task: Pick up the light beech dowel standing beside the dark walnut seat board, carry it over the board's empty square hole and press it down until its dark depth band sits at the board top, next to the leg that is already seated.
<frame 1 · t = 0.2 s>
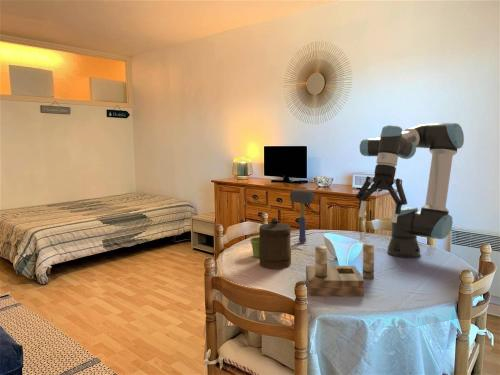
hand: (376, 220, 143), 27 cm above the table, tool tilted 15°, fingers open, 13 cm apart
wooden container: (275, 264, 176), on the table
beech peg: (368, 277, 156), on the table
plant pot: (259, 256, 188), on the table
seat board: (333, 287, 146), on the table
rubber mallet: (302, 242, 210), on the table
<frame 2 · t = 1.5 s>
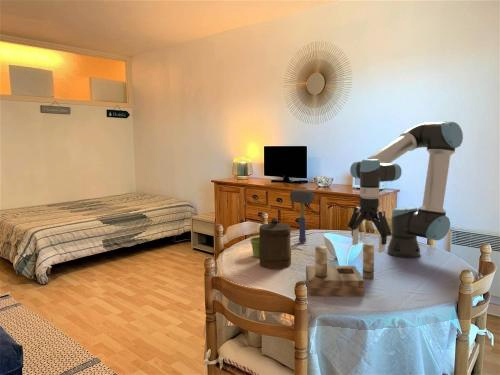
hand: (368, 248, 154), 13 cm above the table, tool pointing down, fingers open, 13 cm apart
nothing on the table moved.
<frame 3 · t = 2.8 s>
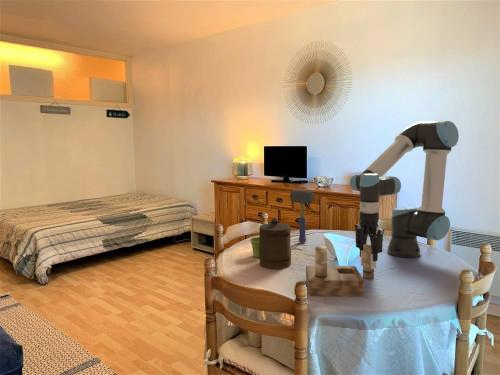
hand: (368, 266, 155), 5 cm above the table, tool pointing down, fingers closed on beech peg, 4 cm apart
beech peg: (368, 277, 156), on the table, touching gripper
everything else where it was.
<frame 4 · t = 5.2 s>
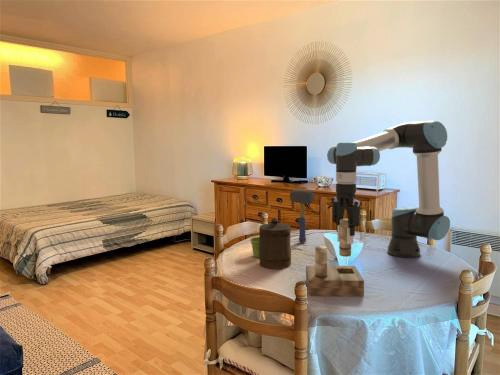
hand: (345, 242, 146), 18 cm above the table, tool pointing down, fingers closed on beech peg, 4 cm apart
beech peg: (345, 254, 146), point 13 cm above the table, touching gripper
everything else where it was.
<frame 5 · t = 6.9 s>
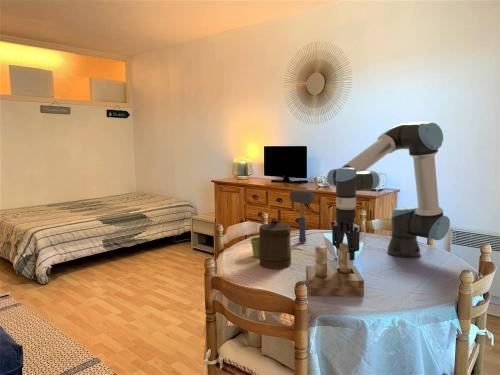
hand: (345, 265, 147), 8 cm above the table, tool pointing down, fingers closed on beech peg, 4 cm apart
beech peg: (345, 278, 148), point 3 cm above the table, touching gripper, seat board
everything else where it was.
when the fingers open (8 cm above the table, at t = 7.8 s): beech peg stays where it is, resting on seat board.
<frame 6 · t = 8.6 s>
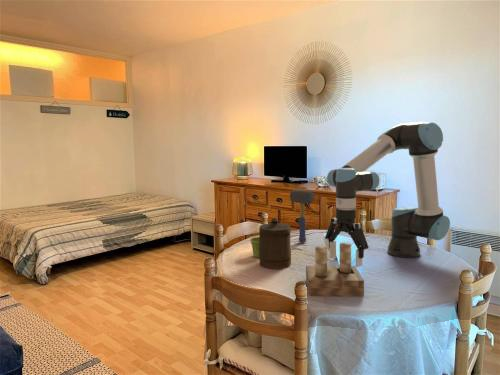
hand: (345, 261, 147), 10 cm above the table, tool pointing down, fingers open, 13 cm apart
beech peg: (345, 278, 148), point 3 cm above the table, touching seat board
everything else where it was.
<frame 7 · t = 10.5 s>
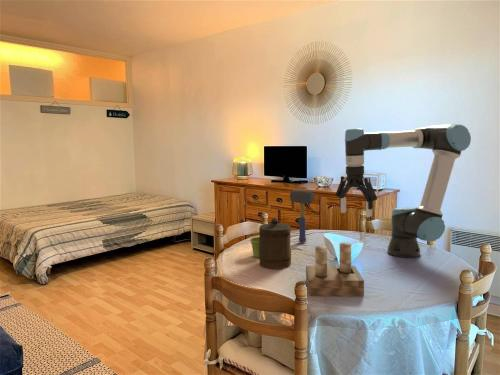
hand: (355, 214, 161), 25 cm above the table, tool pointing down, fingers open, 13 cm apart
nothing on the table moved.
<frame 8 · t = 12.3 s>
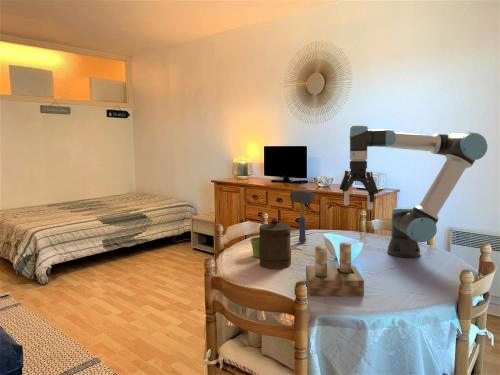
hand: (357, 207, 170), 27 cm above the table, tool pointing down, fingers open, 13 cm apart
nothing on the table moved.
at the end: beech peg 0.1 cm from the target spot in the seat board, point 3.0 cm above the seat board's base; beech peg tilted 0°; the gripper is holding nothing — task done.
